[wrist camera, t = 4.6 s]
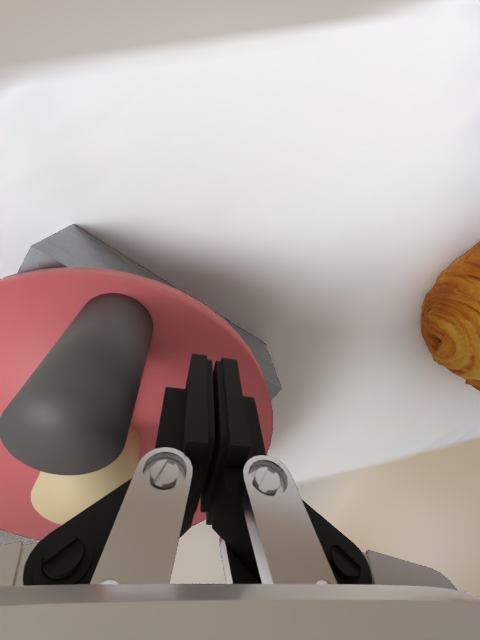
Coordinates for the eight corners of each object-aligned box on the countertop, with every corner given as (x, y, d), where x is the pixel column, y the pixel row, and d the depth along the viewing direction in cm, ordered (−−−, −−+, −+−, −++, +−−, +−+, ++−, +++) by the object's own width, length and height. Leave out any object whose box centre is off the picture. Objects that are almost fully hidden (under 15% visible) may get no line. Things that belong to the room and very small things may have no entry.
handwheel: (223, 531, 23) (233, 673, 17) (-68, 519, 19) (-203, 703, 12) (315, 314, 16) (397, 420, 9) (-127, 216, 12) (-525, 286, 5)
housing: (160, 462, 27) (153, 523, 22) (-20, 394, 22) (-75, 454, 17) (265, 343, 23) (281, 388, 18) (73, 224, 17) (31, 246, 13)
